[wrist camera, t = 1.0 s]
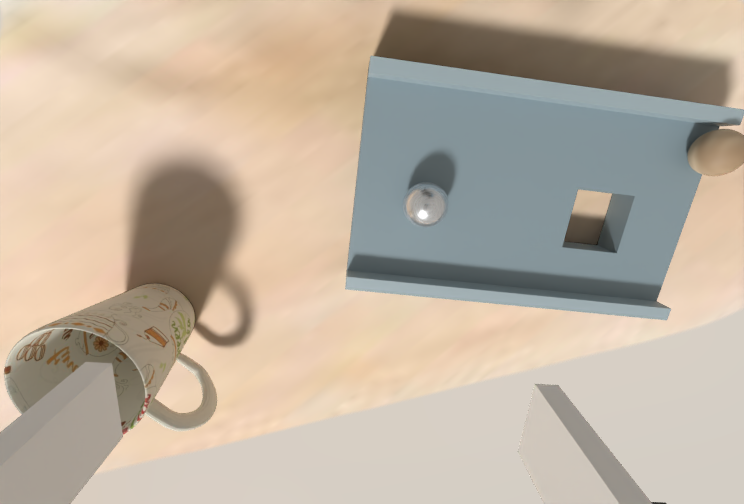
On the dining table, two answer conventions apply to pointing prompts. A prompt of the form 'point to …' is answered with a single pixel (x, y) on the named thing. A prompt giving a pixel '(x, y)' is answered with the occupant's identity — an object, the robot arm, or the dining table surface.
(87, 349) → the mug
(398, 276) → the plate
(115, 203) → the dining table surface
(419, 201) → the steel ball
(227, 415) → the dining table surface
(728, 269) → the dining table surface
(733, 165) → the cork ball
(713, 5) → the dining table surface
